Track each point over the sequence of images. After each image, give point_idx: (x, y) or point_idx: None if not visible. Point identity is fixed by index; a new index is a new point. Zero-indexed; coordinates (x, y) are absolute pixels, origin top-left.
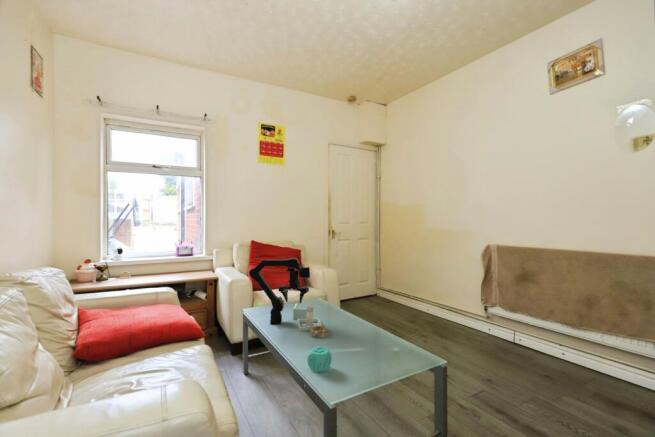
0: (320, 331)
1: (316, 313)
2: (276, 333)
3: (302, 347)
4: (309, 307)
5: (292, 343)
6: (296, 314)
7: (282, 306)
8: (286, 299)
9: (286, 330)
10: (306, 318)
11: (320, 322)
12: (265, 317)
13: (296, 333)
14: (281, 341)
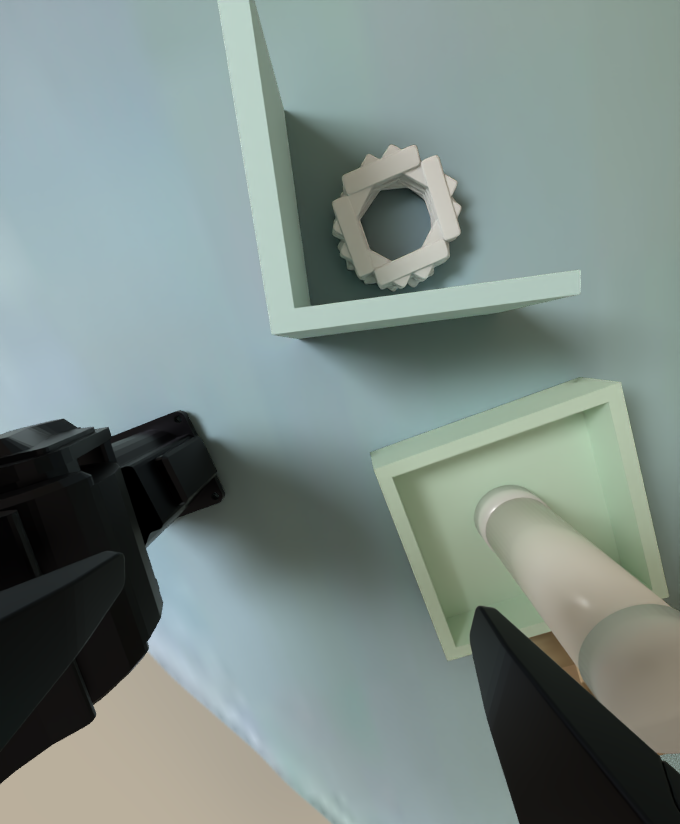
0: (659, 754)
1: (540, 30)
2: (263, 668)
3: (496, 813)
4: (670, 665)
5: (421, 779)
6: (329, 331)
7: (127, 673)
8: (53, 678)
9: (319, 605)
10: (515, 579)
11: (646, 506)
12: (3, 355)
13: (413, 641)
14: (343, 767)
